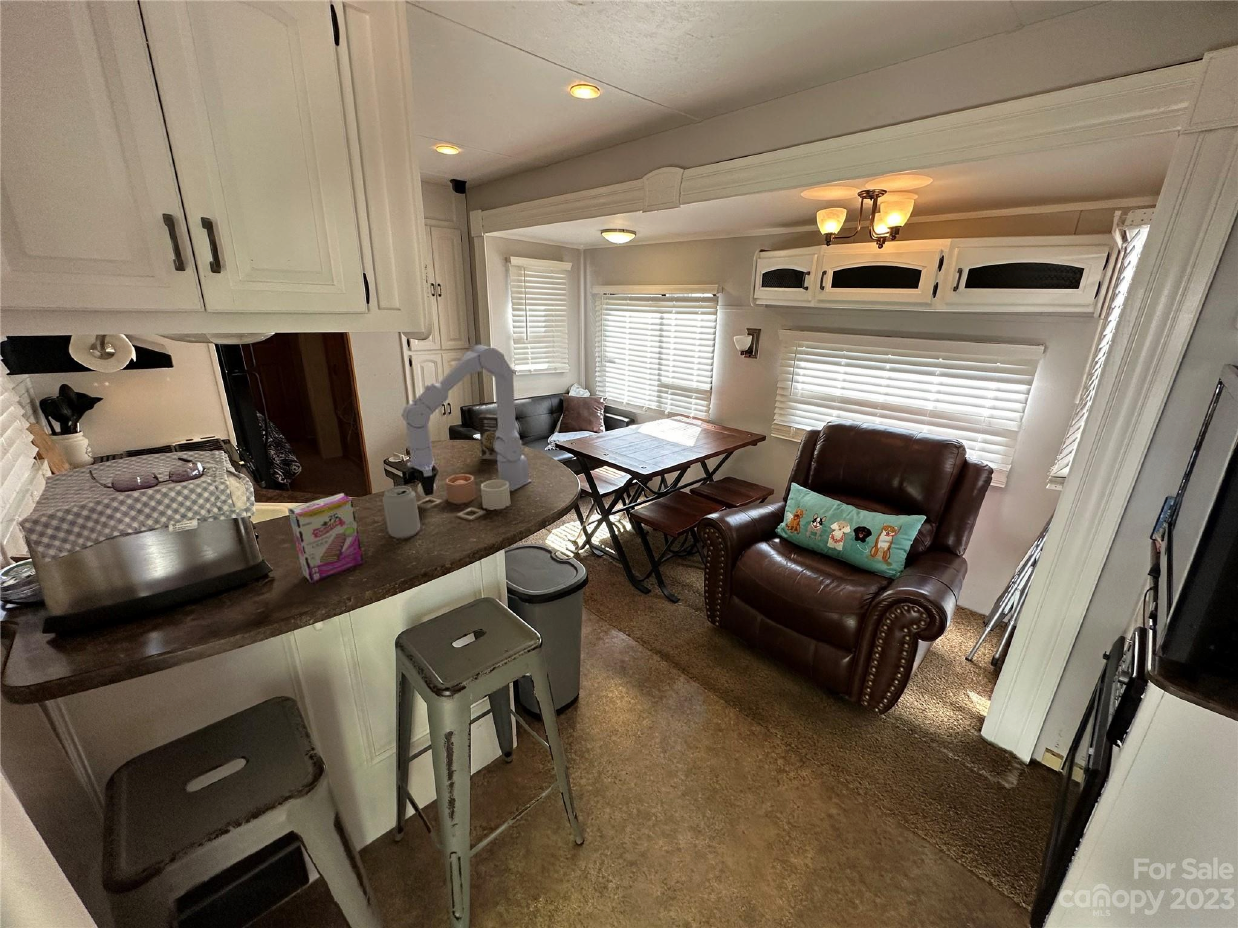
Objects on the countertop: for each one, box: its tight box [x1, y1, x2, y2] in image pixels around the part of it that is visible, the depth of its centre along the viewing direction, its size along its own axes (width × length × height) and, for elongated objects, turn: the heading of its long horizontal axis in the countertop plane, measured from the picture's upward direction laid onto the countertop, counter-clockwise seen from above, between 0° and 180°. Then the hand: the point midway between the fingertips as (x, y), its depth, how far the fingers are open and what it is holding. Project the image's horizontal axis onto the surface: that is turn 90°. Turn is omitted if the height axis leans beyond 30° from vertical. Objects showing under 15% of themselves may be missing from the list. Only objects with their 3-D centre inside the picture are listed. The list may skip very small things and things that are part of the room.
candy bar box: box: [287, 492, 364, 584], centre depth 104 cm, size 11×5×16 cm, turn 140°
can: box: [382, 485, 421, 539], centre depth 121 cm, size 8×8×12 cm
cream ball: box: [417, 482, 437, 498], centre depth 138 cm, size 5×5×5 cm
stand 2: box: [456, 507, 486, 522], centre depth 133 cm, size 5×5×1 cm
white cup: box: [480, 479, 512, 511], centre depth 139 cm, size 8×8×6 cm
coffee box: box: [477, 412, 498, 460], centre depth 176 cm, size 9×6×16 cm
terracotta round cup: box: [445, 473, 476, 504], centre depth 143 cm, size 8×8×6 cm
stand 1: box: [416, 496, 444, 510], centre depth 139 cm, size 5×5×1 cm
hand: (427, 491), depth 138 cm, fingers closed on cream ball, 5 cm apart
